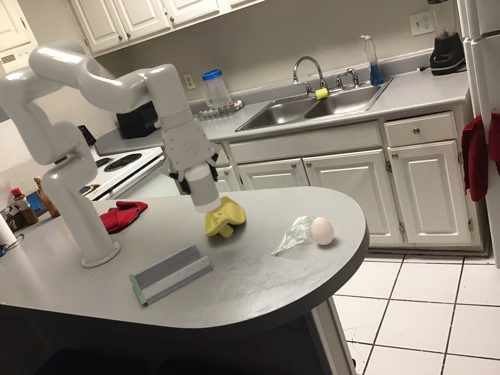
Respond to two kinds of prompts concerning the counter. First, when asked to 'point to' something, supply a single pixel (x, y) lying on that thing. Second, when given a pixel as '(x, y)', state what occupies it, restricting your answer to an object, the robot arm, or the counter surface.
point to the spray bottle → (202, 188)
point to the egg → (322, 231)
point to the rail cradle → (170, 274)
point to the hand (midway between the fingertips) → (201, 186)
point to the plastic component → (223, 218)
